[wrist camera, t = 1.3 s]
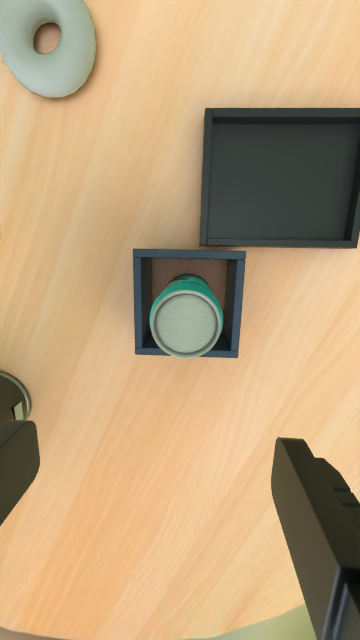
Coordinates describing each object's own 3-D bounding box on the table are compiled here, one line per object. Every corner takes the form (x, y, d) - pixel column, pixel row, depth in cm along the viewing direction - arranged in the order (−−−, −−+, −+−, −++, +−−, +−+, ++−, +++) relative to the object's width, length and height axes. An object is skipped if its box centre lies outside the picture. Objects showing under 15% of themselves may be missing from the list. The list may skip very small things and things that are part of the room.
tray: (199, 245, 32) (200, 245, 30) (204, 117, 29) (205, 107, 27) (346, 248, 31) (357, 248, 29) (368, 118, 28) (381, 107, 26)
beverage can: (188, 263, 33) (185, 268, 18) (220, 296, 33) (242, 325, 19) (156, 296, 34) (129, 325, 19) (188, 326, 34) (185, 377, 20)
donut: (-2, 76, 29) (79, 122, 29) (-28, 52, 26) (64, 105, 26) (29, -28, 27) (116, 24, 27) (5, -69, 23) (105, -9, 24)
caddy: (145, 335, 35) (134, 354, 28) (145, 250, 32) (132, 248, 26) (228, 338, 35) (237, 358, 28) (234, 252, 32) (246, 251, 25)
